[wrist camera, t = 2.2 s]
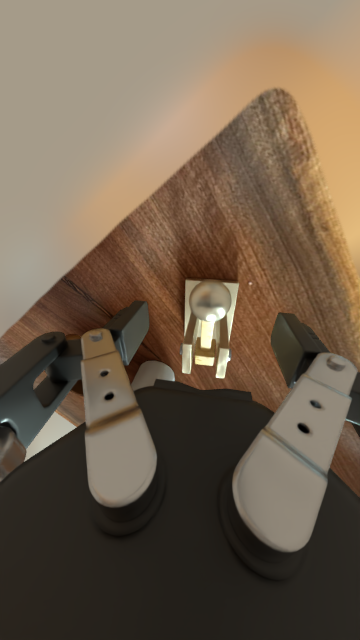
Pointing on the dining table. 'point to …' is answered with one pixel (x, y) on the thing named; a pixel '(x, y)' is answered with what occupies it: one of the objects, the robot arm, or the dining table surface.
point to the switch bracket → (219, 332)
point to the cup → (151, 374)
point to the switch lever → (208, 315)
